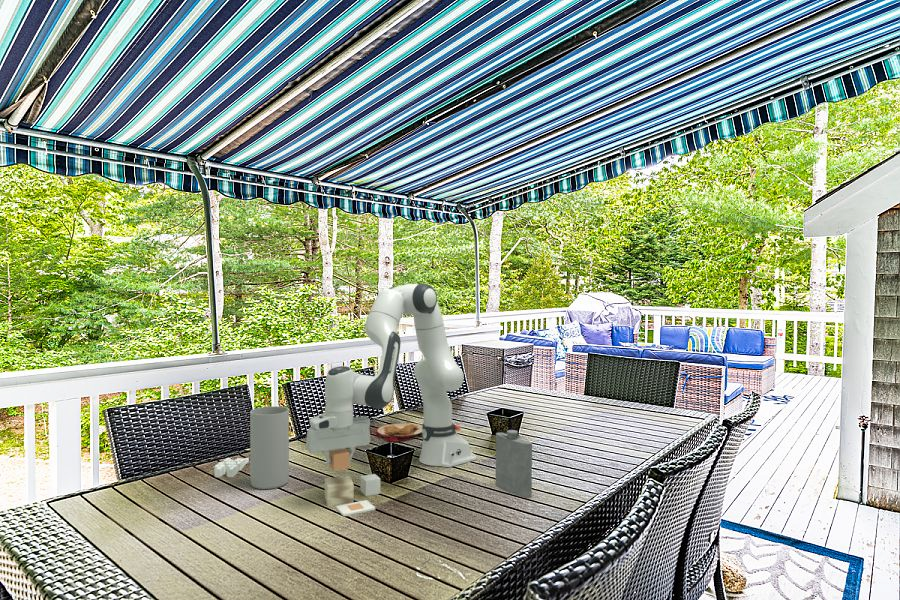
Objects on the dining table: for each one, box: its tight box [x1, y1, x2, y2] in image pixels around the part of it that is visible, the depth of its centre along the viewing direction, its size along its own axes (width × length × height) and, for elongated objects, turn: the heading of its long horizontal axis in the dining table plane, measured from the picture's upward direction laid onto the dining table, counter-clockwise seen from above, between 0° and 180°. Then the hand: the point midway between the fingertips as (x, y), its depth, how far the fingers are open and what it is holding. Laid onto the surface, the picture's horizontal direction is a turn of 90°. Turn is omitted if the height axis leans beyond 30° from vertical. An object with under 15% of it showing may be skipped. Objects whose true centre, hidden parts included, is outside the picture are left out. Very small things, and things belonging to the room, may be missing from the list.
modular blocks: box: [213, 457, 250, 478], centre depth 205 cm, size 20×7×4 cm, turn 1°
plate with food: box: [370, 421, 423, 443], centre depth 255 cm, size 25×26×4 cm
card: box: [335, 499, 376, 517], centre depth 168 cm, size 10×7×1 cm
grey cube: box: [359, 473, 381, 497], centre depth 182 cm, size 5×5×5 cm
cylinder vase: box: [249, 406, 290, 490], centre depth 189 cm, size 12×12×25 cm
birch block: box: [324, 475, 355, 507], centre depth 176 cm, size 8×8×6 cm
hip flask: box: [495, 429, 533, 499], centre depth 185 cm, size 16×4×20 cm, turn 37°
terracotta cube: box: [328, 449, 350, 472], centre depth 175 cm, size 5×5×5 cm
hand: (338, 462), depth 175 cm, fingers closed on terracotta cube, 5 cm apart
